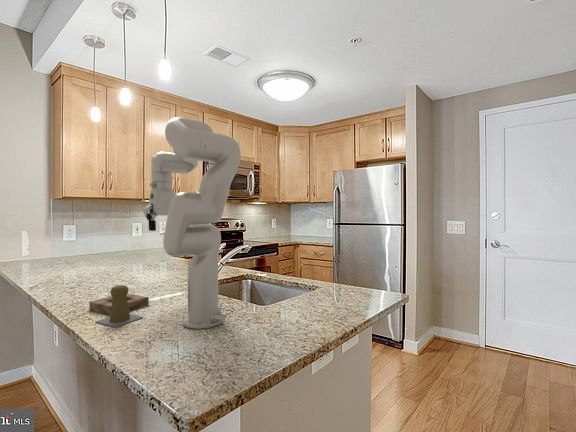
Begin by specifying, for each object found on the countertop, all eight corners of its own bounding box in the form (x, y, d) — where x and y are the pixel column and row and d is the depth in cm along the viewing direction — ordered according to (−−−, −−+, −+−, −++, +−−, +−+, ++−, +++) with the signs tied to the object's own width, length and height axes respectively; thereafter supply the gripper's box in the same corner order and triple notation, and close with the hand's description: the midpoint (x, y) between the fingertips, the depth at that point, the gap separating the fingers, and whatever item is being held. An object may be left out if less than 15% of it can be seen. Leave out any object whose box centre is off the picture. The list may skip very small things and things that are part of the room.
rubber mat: (143, 318, 107) (143, 316, 107) (115, 327, 99) (115, 326, 99) (123, 313, 112) (123, 312, 112) (95, 322, 103) (95, 321, 103)
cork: (111, 317, 107) (111, 284, 107) (131, 315, 109) (131, 283, 109) (107, 323, 101) (106, 288, 101) (128, 321, 103) (127, 287, 103)
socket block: (148, 305, 122) (148, 297, 122) (113, 315, 110) (113, 307, 110) (124, 300, 129) (124, 293, 129) (89, 310, 116) (89, 302, 116)
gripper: (150, 185, 118) (150, 231, 119) (185, 188, 134) (185, 229, 134) (136, 186, 122) (137, 231, 122) (172, 188, 137) (172, 228, 137)
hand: (162, 229), depth 128 cm, fingers open, 9 cm apart
